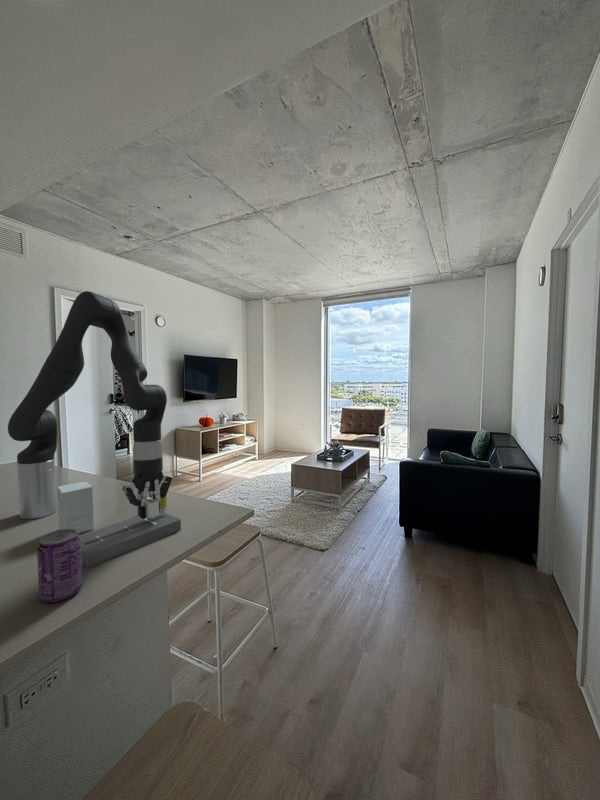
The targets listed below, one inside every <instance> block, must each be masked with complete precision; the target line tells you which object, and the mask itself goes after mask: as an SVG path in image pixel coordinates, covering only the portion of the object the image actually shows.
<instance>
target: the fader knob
mask: <svg viewBox="0 0 600 800" xmlns="http://www.w3.org/2000/svg"><path fill="white" fill-rule="evenodd" d="M145 506H146V517H147V520H151V518H152V517H154V516H157V515H159V501H157V500H155V499H153V498H150V497H149V496H147V498H146V503H145Z"/></svg>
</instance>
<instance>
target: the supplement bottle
mask: <svg viewBox="0 0 600 800" xmlns="http://www.w3.org/2000/svg"><path fill="white" fill-rule="evenodd" d="M161 484H162V481H161V483H160V485H159V488H160V487H161ZM167 495H168V494H167ZM167 495H166V497H165V498H162V499H161V500H160V511H162V512H165V510H167V508H168V507H167V506H168V505H167V504H168V503H167V502H168V501H167V498H168V497H167ZM148 497H150V498H152V495H151V492H148Z"/></svg>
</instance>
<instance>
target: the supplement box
mask: <svg viewBox="0 0 600 800" xmlns="http://www.w3.org/2000/svg"><path fill="white" fill-rule="evenodd" d="M56 488H57V489H56V491H57V503H58V504H57V507H58V508H57V509H58V528H59V530H63V529H75V530H77V531H78V534H81V533H84V532H87V531H88V532H89V531H91V530H92V531H93V530H94V529H95V525H94V524H95V520H94V517H95V515H94V497H93V496H94V491H93V486H92V485H91V484H89V483H88V481H81V482H76V483H70V484H64V485H59V486H57V487H56Z"/></svg>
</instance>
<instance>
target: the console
mask: <svg viewBox="0 0 600 800" xmlns="http://www.w3.org/2000/svg"><path fill="white" fill-rule="evenodd" d="M181 523H182V522H181V518H178V517H175V516H173V515H171V514H169V513H167V512H165V511H159V515H157V516H154V517H152V518H151V520H147V517H146V518H145V519H142V518H140V517H139V516H138V515H137V516H134V517H132V518H129V519H126V520H122V521H119V522H117V523H114V524H110V525H107V526H104V527H100V528H98V529H95V530H92V531H88V532H86V533H84V534H79V535H78V536H79V537H80V539H81V552H82V565H84V566H86V567H87V568H90V567H93V566H95V565H98V564H100V563H103V562H105V561H108V560H110V559H113V558H115V557H117V556H120V555H122V554H125V553H127V552H130V551H132V550H134V549H137V548H139V547H143V546H144V545H147V544H149V543H152V542H154V541H157V540H159V539H161V538H164V537H166V536H169V535H171V534H174V533H176V532H179V531H181V530H182V525H181Z"/></svg>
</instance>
